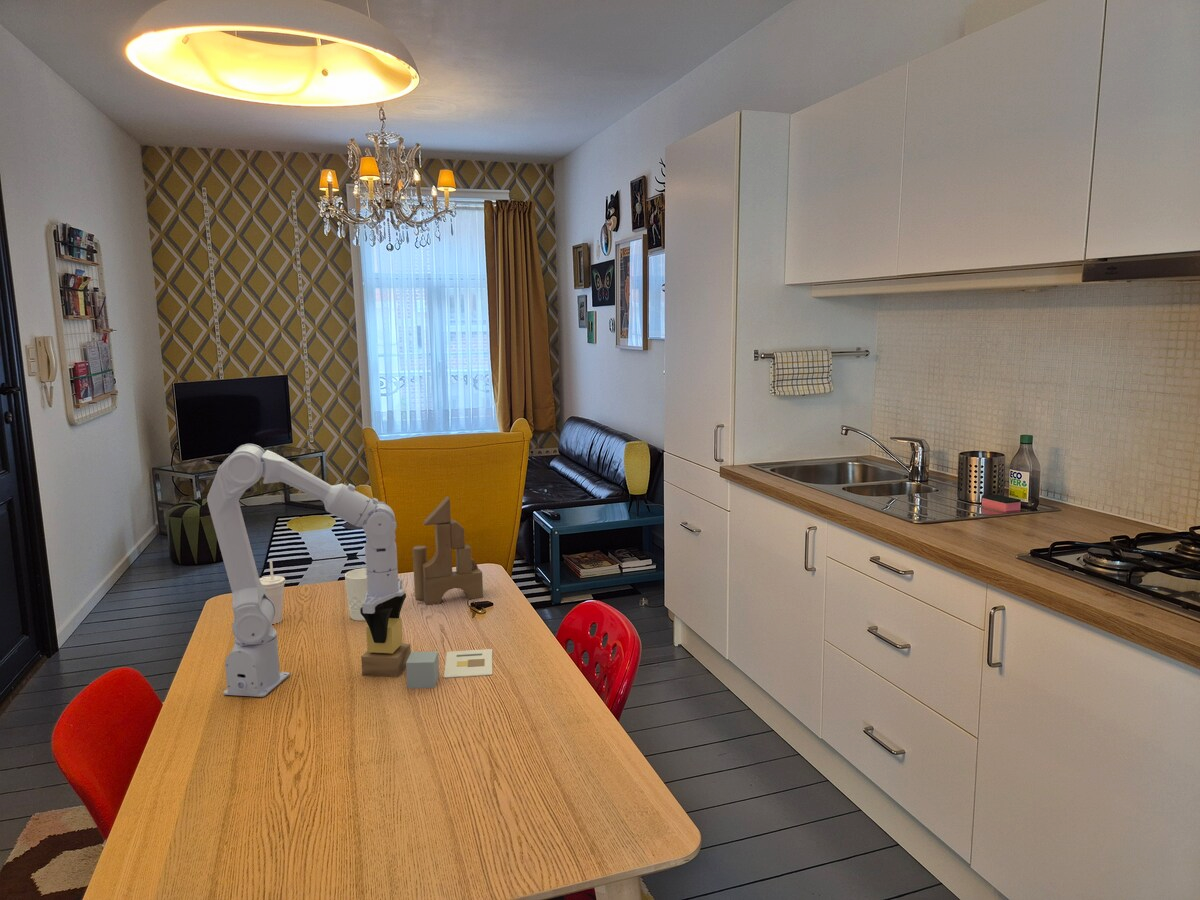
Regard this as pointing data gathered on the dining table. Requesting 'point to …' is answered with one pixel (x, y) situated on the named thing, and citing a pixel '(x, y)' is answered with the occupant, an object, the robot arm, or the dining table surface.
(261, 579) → the smoothie
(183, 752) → the dining table surface
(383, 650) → the mustard brick
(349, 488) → the robot arm
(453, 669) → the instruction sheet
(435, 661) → the slate brick
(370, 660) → the walnut base
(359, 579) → the white cup
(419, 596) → the wooden toy
